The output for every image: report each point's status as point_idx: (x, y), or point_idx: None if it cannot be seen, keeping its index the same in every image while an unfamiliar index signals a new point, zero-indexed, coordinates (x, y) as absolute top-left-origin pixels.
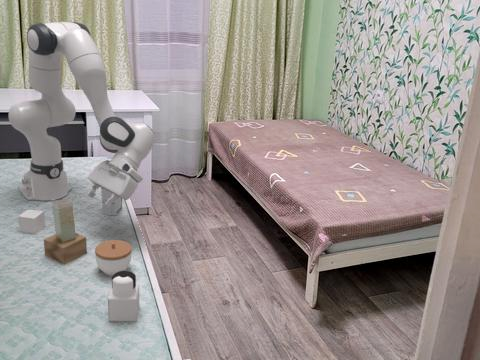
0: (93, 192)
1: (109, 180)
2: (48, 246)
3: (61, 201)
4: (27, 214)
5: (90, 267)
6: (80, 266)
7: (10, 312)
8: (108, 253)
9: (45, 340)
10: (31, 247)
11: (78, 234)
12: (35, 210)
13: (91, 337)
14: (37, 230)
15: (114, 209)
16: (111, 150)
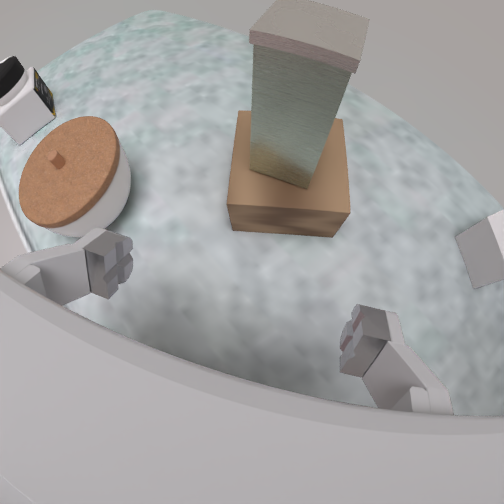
0: (354, 344)
1: (62, 452)
2: None
3: (335, 27)
4: None
5: (164, 175)
6: (193, 163)
7: (206, 27)
8: (63, 133)
9: (119, 33)
10: (396, 170)
11: (272, 204)
12: None
13: (65, 67)
14: (462, 244)
15: None
16: None
